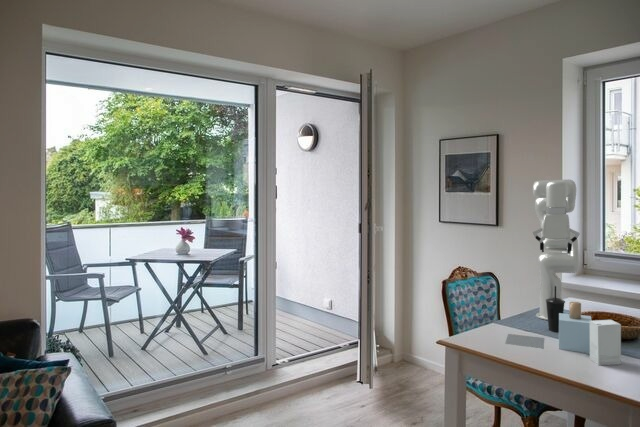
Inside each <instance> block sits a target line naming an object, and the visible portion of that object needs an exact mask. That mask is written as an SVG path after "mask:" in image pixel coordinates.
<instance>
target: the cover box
mask: <svg viewBox="0 0 640 427" xmlns="http://www.w3.org/2000/svg"><path fill="white" fill-rule="evenodd" d="M568 309H569V313H564V312H563V313H559V332H558V350H562V351H570V352H579V353H583V354H587V355H590V321H593V320H592V315H583V314H582V302H579V301H569V308H568Z"/></svg>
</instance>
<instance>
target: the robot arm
mask: <svg viewBox="0 0 640 427" xmlns="http://www.w3.org/2000/svg"><path fill="white" fill-rule="evenodd" d="M532 194H533V197H534V198H535V201H534V209H535V213H536V216H537V218H538V220H539V225H540V228H539V229H536V230H534V231H533V232H532V235H533V236H534V238H535V239H536V241H538V242H539V250H540V251H541V253H540V254H539V255H538V257H537V265H538V271H539V311H538V312H537V313H536V314H535V317H536V318H538V319H541V320H546V321H548V315H547V304H546V299H549V298H553V297H554V295H555V286H556V298H560V299H562V300H563V292H562V291H563V282H562V280H561V278H560V277H559V276H558V275H557V274H558V273H559V274H575V273H577V272H579V270H580V254H579V236H580V232H579V231H576V230H575V229H573V228H570V218H569V214H567V213H573V211H574V210H575V207H576V201H577V200H576V199H577V185H576V181H574V180H572V179H546V180H545V179H544V180H536V181H534V182H533V185H532ZM539 233H540V236H539V235H538V234H539ZM544 251H549V252H544Z"/></svg>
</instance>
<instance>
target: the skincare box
mask: <svg viewBox="0 0 640 427" xmlns="http://www.w3.org/2000/svg"><path fill="white" fill-rule="evenodd" d="M589 359H590V361H592V362H594V364H595V365H597V366H611V365H621V364H622V363H621V362H622V324H621V323H619V322H617V321H614V320H613V319H599V320H598V319H595V320H592V321H590V354H589Z"/></svg>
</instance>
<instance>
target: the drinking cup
mask: <svg viewBox="0 0 640 427" xmlns="http://www.w3.org/2000/svg"><path fill="white" fill-rule="evenodd" d="M546 304H547V315H548V320H547V323H548V324H547V325H548V331H549V332H552V333H559V313H564V310H565V304H566V301H565V300H564V299H563V298H562V299H560V298H556V286H555V295H554V297H553V298H549V299H546Z"/></svg>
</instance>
